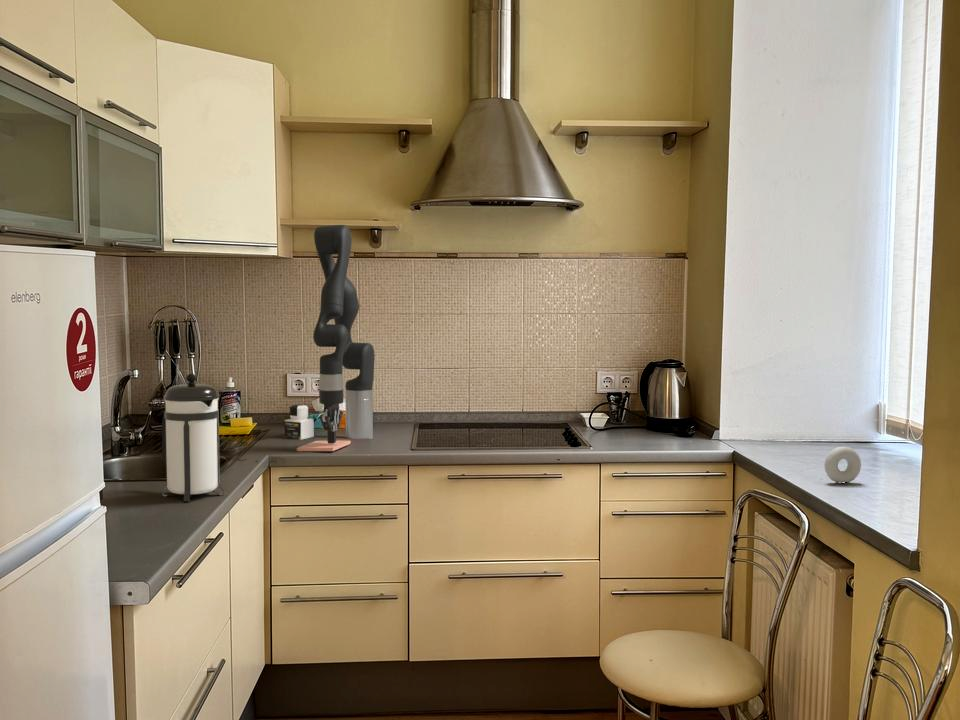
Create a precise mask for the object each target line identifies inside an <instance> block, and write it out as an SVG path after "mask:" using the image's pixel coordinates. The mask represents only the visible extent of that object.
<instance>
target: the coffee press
mask: <svg viewBox="0 0 960 720" xmlns="http://www.w3.org/2000/svg"><path fill="white" fill-rule="evenodd" d="M185 379H186V381H187V383H181V384H180V383H179V384H176V385H172V386H170V387H168V389H166V392H165V394H164V395H163V401H164V402H165V410H164V412H163V416H162V420H161V421H162V422H161V438H162V439H161V443H162V445H161V447H162V458H163V462H164V465H165V480H166V481H165V486H164V488H163V490H162V492H161V493H160V495H161V496H162V497H164V498H165V497H168V496H169V495H170V494H171V493H173V494H177V495H183V503H190V502H191V501H192V500H191V499H192V496H193V495H200V494H201V495H202V494H206V493H211V492H213V493H216V494H217V496H220V497H221V496H223V495H225V493H226V490H225V488H224V487H223V486H222V485H221V474H220V473H221V472H220V471H221V469H220V468H221V467H220V466H221V465H220V460H221V459H220V420H219V417H220V415H219V413H220V410H219V408H218V407H219V405H218V404H219V402H218V401H219V398H220V394H219V393H218V391H217V389H216V388H215V387H214V386H213V385H210V384H207V383H196V381H197V376H196V374H194V373H189V374H187V376H186V377H185ZM218 487H219V488H220V489H221V491H222V492H223V493H220V492H219V491H218V490H217V488H218ZM166 488H167V489H168V491H169V493H167V494H165V493H164V492H165V490H166Z"/></svg>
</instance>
